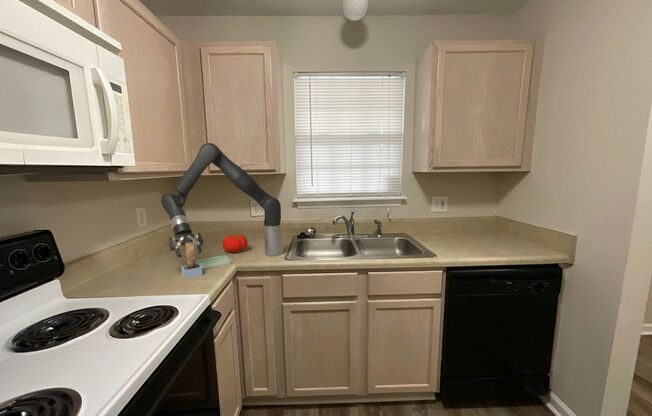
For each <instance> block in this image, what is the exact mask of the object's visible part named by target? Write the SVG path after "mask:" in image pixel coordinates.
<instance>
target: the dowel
mask: <svg viewBox="0 0 652 416" xmlns="http://www.w3.org/2000/svg"><path fill="white" fill-rule="evenodd" d="M184 246H185V255H186V265H187V269H194V268H196V260H197V259H196V251H195V245H194V242H187V243H185V245H184Z"/></svg>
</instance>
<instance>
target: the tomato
mask: <svg viewBox="0 0 652 416" xmlns="http://www.w3.org/2000/svg"><path fill="white" fill-rule="evenodd" d="M221 243H222V245H221V246H222V249H223V250H224V251H226V252H227V253H233V254H235V253H238V252H243V251H244V250H245V249H247V246H248V243H249V242H248V238H246V236H244V235H243V234H240V233H236V234H233V235H232V234H230V235H227V236H226V237H225V238H223V240H222V242H221Z"/></svg>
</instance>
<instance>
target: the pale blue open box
mask: <svg viewBox="0 0 652 416" xmlns="http://www.w3.org/2000/svg"><path fill="white" fill-rule="evenodd" d="M180 267H181V274H182V278H183V280H185V279H189V278H190V279H191V278H195V277H199V276H200V277H201V276H203V272H204V271H203V269H202V266H201V264H200V263H196V268H194V269H187V264H184V265H181V266H180Z"/></svg>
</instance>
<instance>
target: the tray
mask: <svg viewBox="0 0 652 416" xmlns="http://www.w3.org/2000/svg"><path fill="white" fill-rule="evenodd" d="M195 260H196V263H200V264H201V266H202V270H203V269H204V270H205V269H210V268H214V267H220V266H225V265H230V264H232V259H230V257H228V256H227V254H224V255H218V256H217V255H216V256H211V257H206V258H200V259H195Z"/></svg>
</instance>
